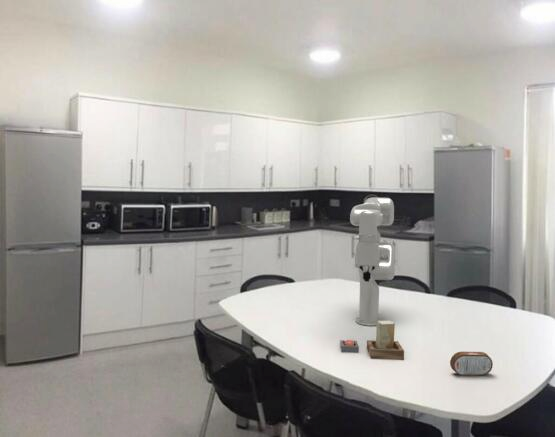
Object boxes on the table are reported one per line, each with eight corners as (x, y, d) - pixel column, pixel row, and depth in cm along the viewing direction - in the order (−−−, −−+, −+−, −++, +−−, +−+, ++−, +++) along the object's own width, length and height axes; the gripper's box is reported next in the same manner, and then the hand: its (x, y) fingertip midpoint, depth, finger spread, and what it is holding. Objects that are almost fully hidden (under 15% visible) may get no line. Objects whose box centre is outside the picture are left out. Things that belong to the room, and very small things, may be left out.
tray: (366, 348, 190) (366, 340, 189) (397, 349, 189) (398, 341, 189) (370, 358, 179) (371, 349, 178) (403, 359, 178) (404, 350, 178)
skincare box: (379, 353, 181) (380, 324, 180) (375, 349, 185) (375, 320, 184) (394, 352, 183) (395, 323, 182) (389, 348, 187) (390, 320, 186)
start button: (343, 346, 190) (344, 339, 190) (353, 346, 190) (353, 340, 190) (344, 350, 186) (345, 343, 186) (354, 350, 186) (354, 343, 186)
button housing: (340, 346, 192) (340, 340, 192) (356, 346, 192) (356, 340, 192) (341, 352, 185) (341, 346, 185) (358, 352, 185) (358, 346, 185)
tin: (489, 372, 166) (490, 350, 166) (493, 376, 163) (494, 354, 163) (449, 373, 166) (450, 350, 165) (452, 376, 163) (453, 354, 162)
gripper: (351, 240, 191) (350, 282, 192) (386, 240, 190) (385, 283, 192) (349, 238, 199) (348, 278, 200) (383, 238, 198) (382, 279, 199)
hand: (366, 280), depth 196 cm, fingers closed
